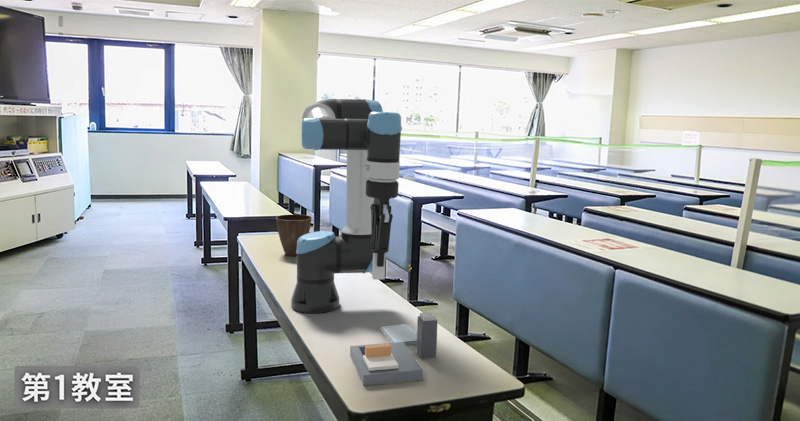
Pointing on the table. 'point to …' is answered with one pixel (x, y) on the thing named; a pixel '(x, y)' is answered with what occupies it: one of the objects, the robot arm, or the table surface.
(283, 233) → the plant pot
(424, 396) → the table surface
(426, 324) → the grey block
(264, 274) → the table surface
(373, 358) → the shutter
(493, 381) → the table surface
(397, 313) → the table surface
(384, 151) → the robot arm
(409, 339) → the hard drive
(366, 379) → the socket plate
